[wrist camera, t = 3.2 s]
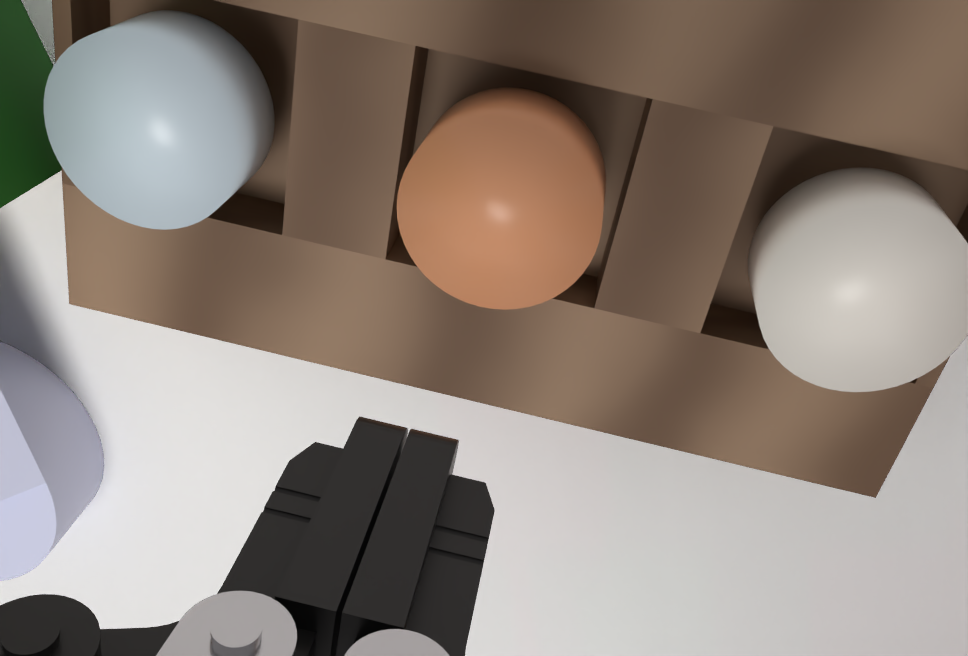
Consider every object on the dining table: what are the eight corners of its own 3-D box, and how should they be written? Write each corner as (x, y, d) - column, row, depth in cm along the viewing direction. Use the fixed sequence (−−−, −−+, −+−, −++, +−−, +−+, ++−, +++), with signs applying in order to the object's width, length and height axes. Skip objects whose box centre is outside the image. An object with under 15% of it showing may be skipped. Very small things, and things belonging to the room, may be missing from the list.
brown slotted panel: (1072, -7, 23) (1128, 17, 20) (855, 437, 30) (875, 497, 27) (105, -216, 24) (39, -219, 21) (117, 262, 31) (69, 303, 28)
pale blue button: (280, 33, 23) (243, 56, 21) (268, 212, 26) (234, 248, 24) (92, -9, 24) (36, 9, 21) (99, 172, 26) (49, 205, 24)
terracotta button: (627, 111, 23) (625, 143, 21) (581, 285, 25) (575, 329, 23) (433, 68, 23) (411, 94, 21) (406, 244, 26) (384, 284, 24)
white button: (986, 192, 23) (1021, 233, 20) (902, 360, 25) (927, 412, 23) (785, 147, 23) (800, 182, 21) (723, 318, 25) (730, 365, 23)
